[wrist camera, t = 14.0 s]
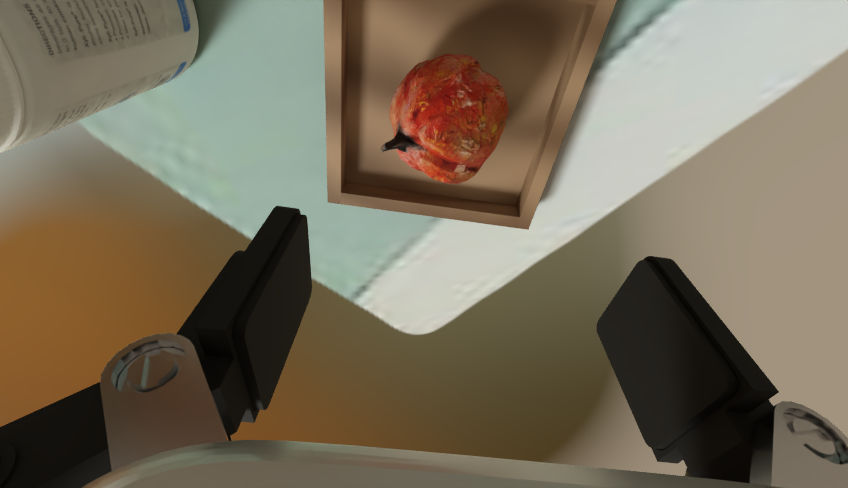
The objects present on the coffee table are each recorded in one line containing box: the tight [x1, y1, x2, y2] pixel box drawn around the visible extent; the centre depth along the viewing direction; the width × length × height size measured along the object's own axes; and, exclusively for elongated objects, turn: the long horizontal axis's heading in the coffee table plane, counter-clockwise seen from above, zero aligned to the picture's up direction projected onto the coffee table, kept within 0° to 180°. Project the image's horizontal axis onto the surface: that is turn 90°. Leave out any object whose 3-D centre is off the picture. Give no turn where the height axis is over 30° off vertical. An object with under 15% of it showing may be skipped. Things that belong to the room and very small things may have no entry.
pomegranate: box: [379, 54, 509, 184], centre depth 22 cm, size 7×7×10 cm
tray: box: [324, 0, 617, 229], centre depth 25 cm, size 16×16×3 cm
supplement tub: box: [0, 0, 199, 153], centre depth 17 cm, size 10×10×15 cm
